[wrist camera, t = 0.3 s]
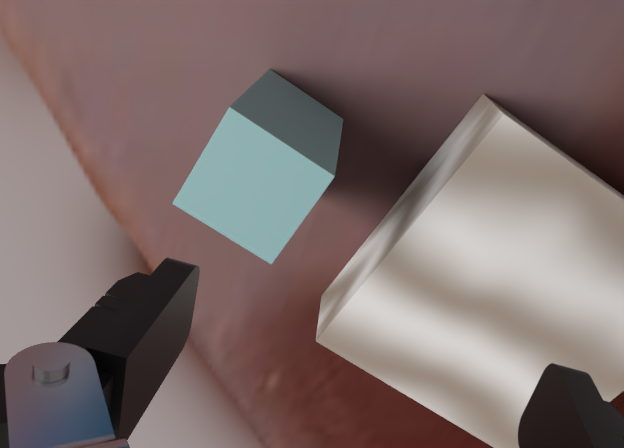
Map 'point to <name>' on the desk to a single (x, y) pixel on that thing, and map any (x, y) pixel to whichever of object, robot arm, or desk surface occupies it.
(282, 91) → the teal block
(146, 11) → the desk surface
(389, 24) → the desk surface
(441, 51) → the desk surface
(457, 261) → the beige slab
